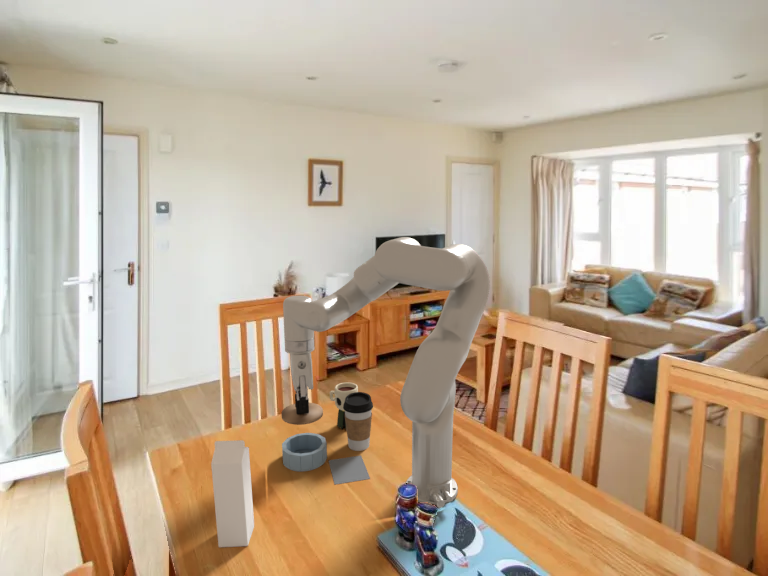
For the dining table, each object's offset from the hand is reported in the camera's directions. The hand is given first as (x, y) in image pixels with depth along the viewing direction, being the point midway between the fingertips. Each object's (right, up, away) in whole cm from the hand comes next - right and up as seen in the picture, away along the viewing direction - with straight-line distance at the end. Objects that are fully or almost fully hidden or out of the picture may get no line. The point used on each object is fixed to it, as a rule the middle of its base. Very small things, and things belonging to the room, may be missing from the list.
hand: (302, 409), depth 123 cm
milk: (-9, -20, -25) cm, 33 cm away
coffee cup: (+15, -13, +10) cm, 22 cm away
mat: (+13, -15, -2) cm, 20 cm away
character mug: (+10, -11, +22) cm, 26 cm away
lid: (0, -1, 0) cm, 1 cm away
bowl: (0, -14, +3) cm, 15 cm away
